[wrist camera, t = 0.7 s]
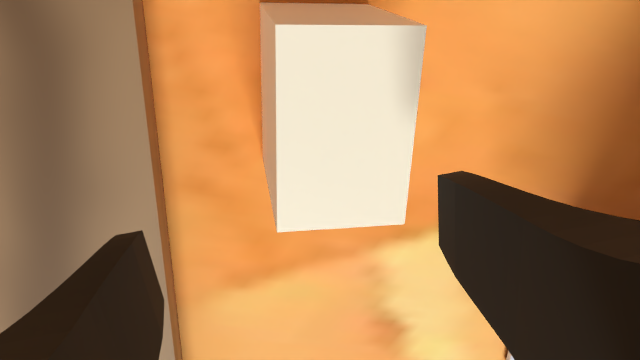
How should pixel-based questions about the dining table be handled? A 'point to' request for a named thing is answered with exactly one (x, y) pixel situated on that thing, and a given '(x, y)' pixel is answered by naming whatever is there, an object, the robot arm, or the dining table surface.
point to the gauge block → (338, 113)
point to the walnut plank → (76, 148)
